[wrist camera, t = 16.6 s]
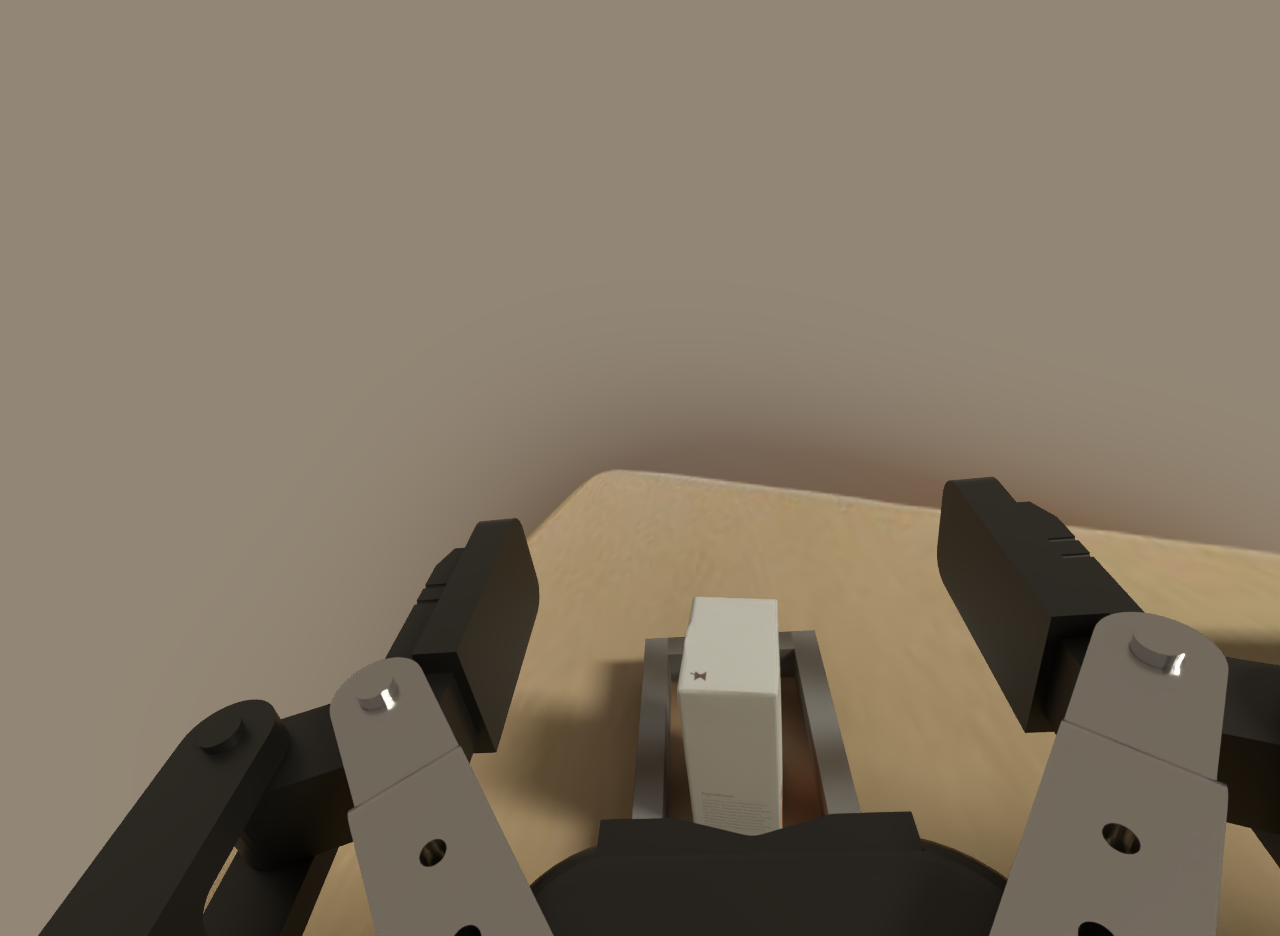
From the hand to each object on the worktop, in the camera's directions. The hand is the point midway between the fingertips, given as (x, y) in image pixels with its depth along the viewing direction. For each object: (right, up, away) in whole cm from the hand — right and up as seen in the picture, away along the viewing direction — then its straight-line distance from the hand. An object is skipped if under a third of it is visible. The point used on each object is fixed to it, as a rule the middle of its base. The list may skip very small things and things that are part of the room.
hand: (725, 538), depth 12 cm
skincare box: (+4, -17, +21) cm, 27 cm away
